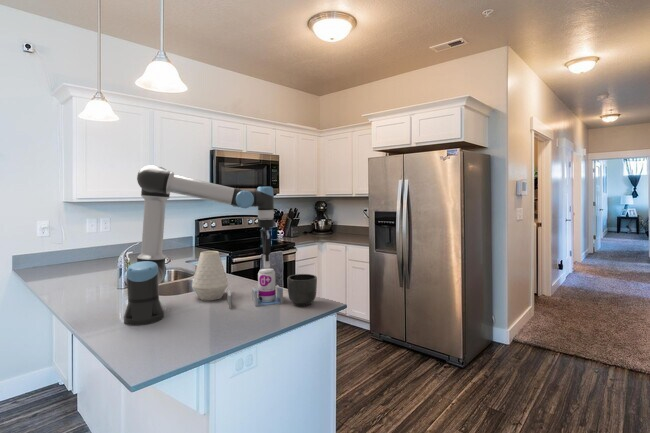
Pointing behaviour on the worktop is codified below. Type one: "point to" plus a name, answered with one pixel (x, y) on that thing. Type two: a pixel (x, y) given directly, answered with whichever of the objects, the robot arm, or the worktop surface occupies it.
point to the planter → (302, 289)
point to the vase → (210, 277)
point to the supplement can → (266, 285)
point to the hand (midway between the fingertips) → (266, 267)
